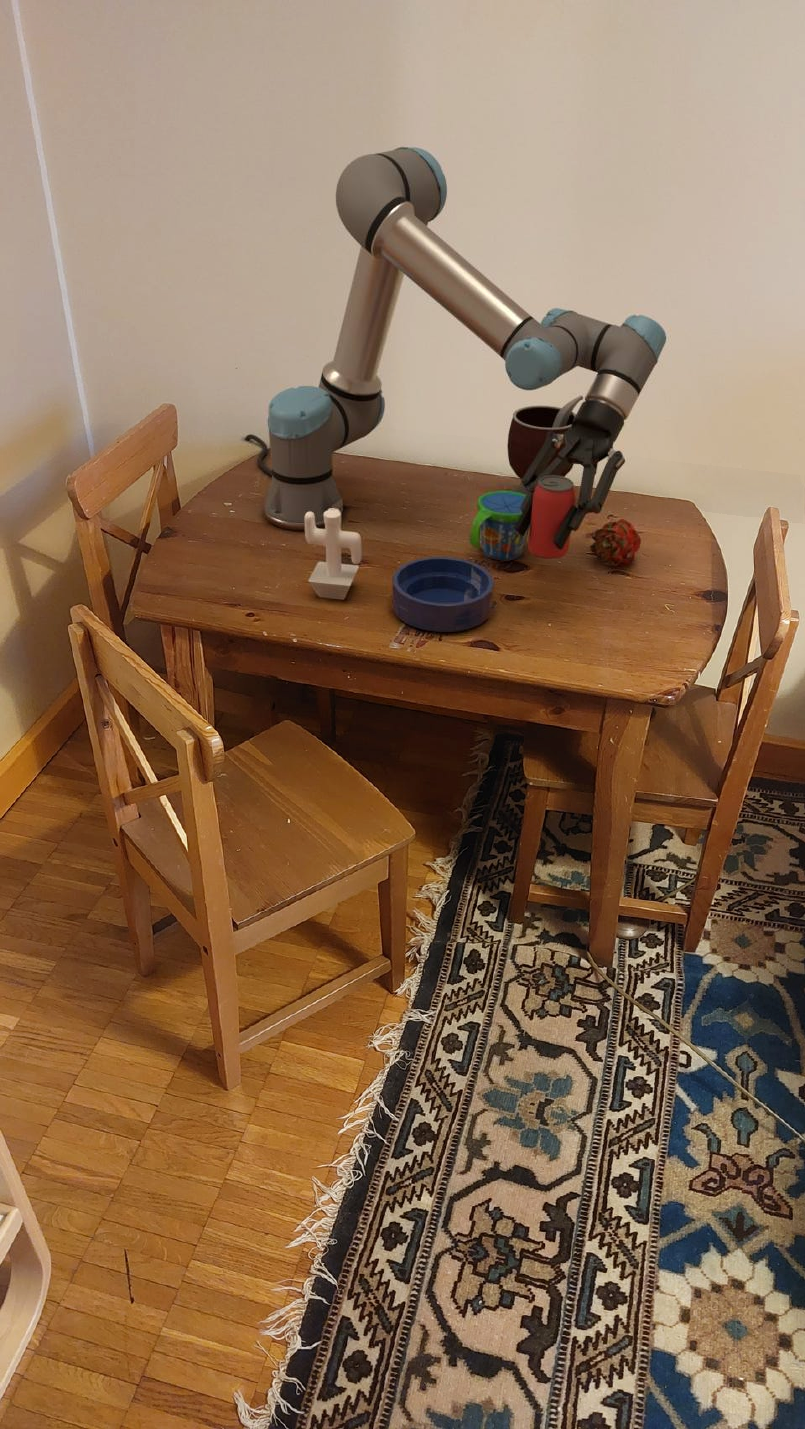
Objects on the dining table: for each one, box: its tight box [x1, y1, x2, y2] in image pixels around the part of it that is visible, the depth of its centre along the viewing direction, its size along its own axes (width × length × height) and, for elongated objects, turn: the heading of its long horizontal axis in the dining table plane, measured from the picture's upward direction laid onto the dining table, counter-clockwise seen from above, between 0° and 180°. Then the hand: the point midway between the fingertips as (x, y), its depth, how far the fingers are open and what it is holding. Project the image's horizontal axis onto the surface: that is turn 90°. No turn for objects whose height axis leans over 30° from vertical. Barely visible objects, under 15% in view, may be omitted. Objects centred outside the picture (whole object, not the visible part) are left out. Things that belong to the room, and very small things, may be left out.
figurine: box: [304, 508, 362, 601], centre depth 169 cm, size 7×9×15 cm
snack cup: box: [468, 490, 530, 562], centre depth 183 cm, size 16×10×10 cm
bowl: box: [391, 556, 495, 633], centre depth 168 cm, size 17×17×6 cm
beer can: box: [527, 475, 576, 560], centre depth 161 cm, size 7×7×12 cm
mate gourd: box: [507, 395, 584, 495], centre depth 200 cm, size 16×14×20 cm
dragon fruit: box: [589, 518, 642, 567], centre depth 183 cm, size 8×8×12 cm
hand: (538, 538), depth 160 cm, fingers closed on beer can, 6 cm apart
